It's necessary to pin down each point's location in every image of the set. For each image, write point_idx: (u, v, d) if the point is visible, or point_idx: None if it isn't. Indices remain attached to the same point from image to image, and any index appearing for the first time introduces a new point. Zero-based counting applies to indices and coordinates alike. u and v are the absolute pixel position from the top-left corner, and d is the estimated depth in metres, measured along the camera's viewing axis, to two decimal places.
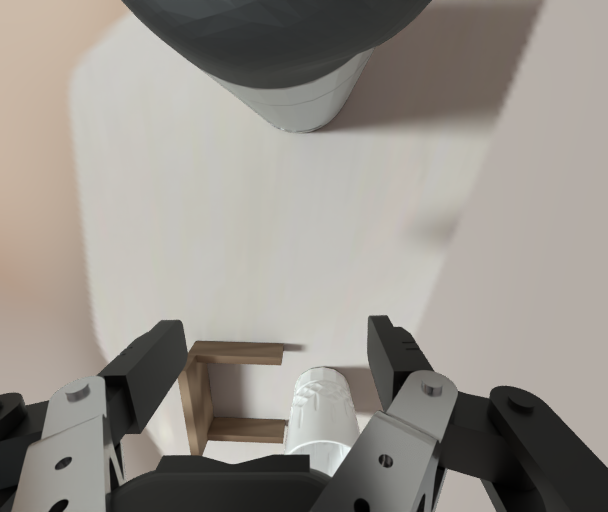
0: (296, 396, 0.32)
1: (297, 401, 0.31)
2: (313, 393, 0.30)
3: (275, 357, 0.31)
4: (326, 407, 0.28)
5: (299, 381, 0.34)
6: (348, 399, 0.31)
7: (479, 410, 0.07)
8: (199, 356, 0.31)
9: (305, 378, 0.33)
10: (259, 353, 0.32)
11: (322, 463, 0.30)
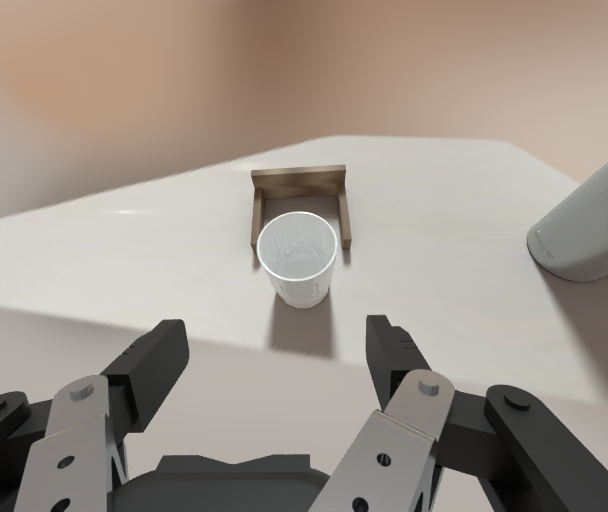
0: None
1: None
2: None
3: (350, 235, 0.36)
4: None
5: None
6: (322, 292, 0.31)
7: (476, 409, 0.07)
8: (343, 185, 0.40)
9: None
10: None
11: (267, 260, 0.30)
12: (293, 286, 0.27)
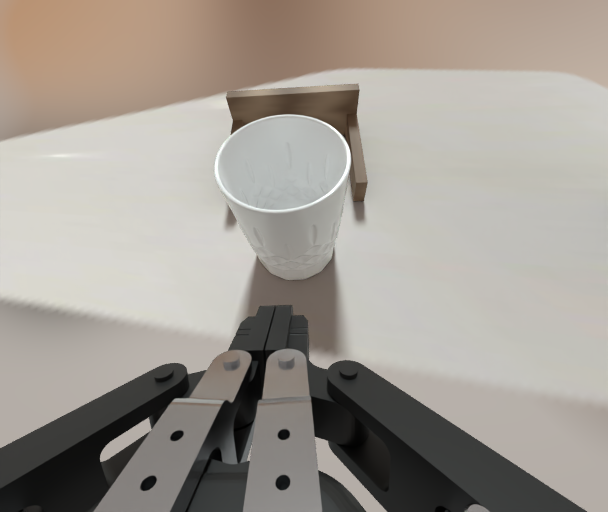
0: None
1: None
2: None
3: (366, 177, 0.25)
4: None
5: None
6: (323, 250, 0.20)
7: (323, 380, 0.08)
8: (354, 116, 0.29)
9: None
10: None
11: (236, 196, 0.19)
12: (274, 227, 0.15)
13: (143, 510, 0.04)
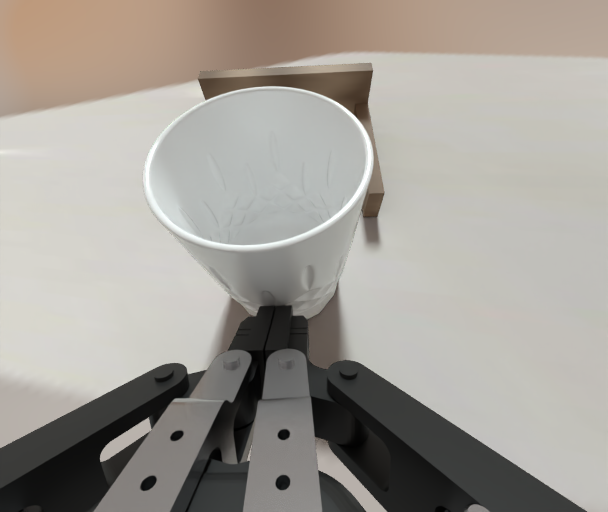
0: None
1: None
2: None
3: (382, 186, 0.19)
4: None
5: None
6: (324, 292, 0.14)
7: (323, 381, 0.08)
8: (365, 106, 0.23)
9: None
10: None
11: (194, 211, 0.13)
12: (241, 270, 0.09)
13: (143, 510, 0.04)
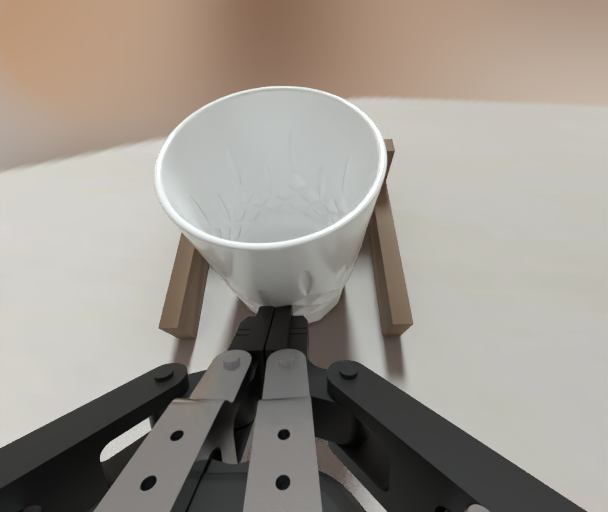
0: None
1: None
2: None
3: (409, 312, 0.14)
4: None
5: None
6: (325, 299, 0.13)
7: (323, 381, 0.08)
8: (383, 186, 0.18)
9: None
10: None
11: (205, 202, 0.13)
12: (236, 266, 0.09)
13: (144, 509, 0.04)
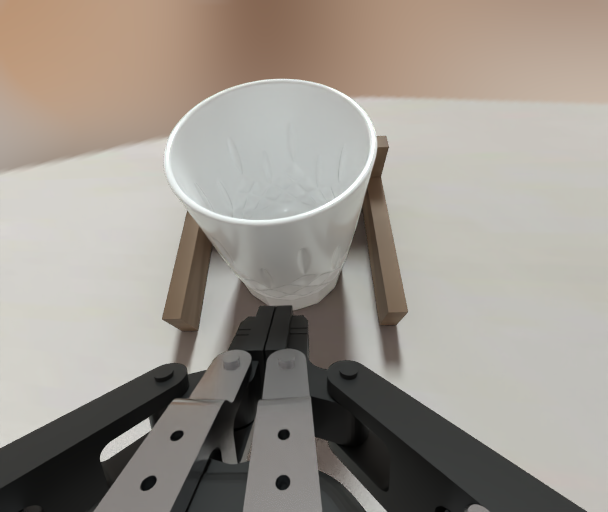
0: None
1: None
2: None
3: (404, 301, 0.15)
4: None
5: None
6: (322, 280, 0.14)
7: (323, 381, 0.08)
8: (378, 181, 0.19)
9: None
10: None
11: (209, 189, 0.14)
12: (239, 244, 0.10)
13: (143, 509, 0.04)
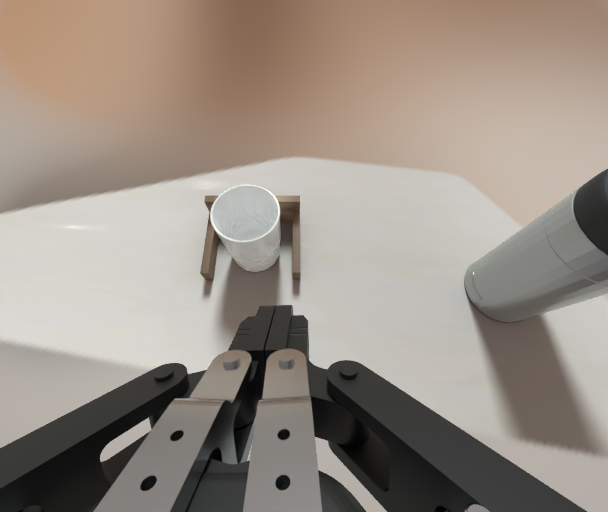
0: None
1: None
2: None
3: (299, 268, 0.37)
4: (279, 233, 0.35)
5: None
6: (265, 259, 0.36)
7: (323, 380, 0.08)
8: (298, 214, 0.41)
9: None
10: None
11: (222, 222, 0.35)
12: (235, 246, 0.32)
13: (143, 509, 0.04)
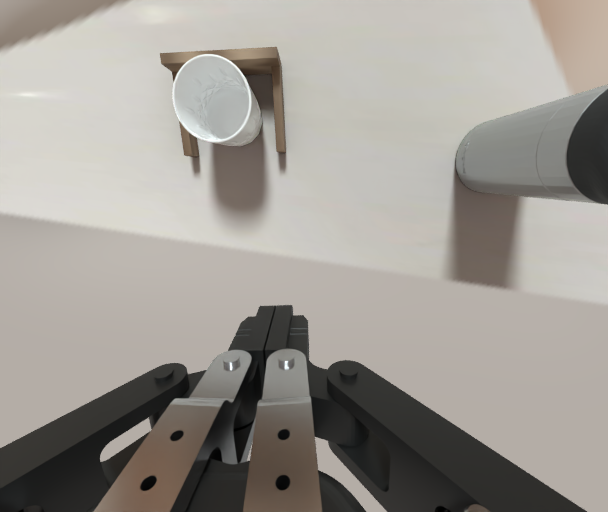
0: None
1: None
2: None
3: (283, 145, 0.36)
4: (256, 114, 0.31)
5: None
6: (246, 140, 0.34)
7: (323, 381, 0.08)
8: (278, 70, 0.33)
9: None
10: (283, 130, 0.36)
11: (190, 103, 0.31)
12: None
13: (143, 509, 0.04)
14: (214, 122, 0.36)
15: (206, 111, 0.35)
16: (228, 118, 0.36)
